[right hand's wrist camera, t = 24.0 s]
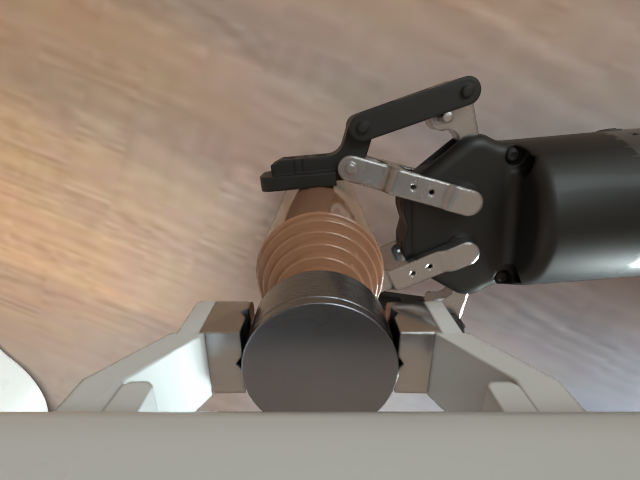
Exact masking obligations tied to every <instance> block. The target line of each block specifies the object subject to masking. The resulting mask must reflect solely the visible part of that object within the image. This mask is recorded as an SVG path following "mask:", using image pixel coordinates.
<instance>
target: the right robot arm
mask: <svg viewBox="0 0 640 480" xmlns="http://www.w3.org/2000/svg"><path fill="white" fill-rule="evenodd" d="M254 316H255V313H254V305H253V302H231V301H218V302H217V301H200V302H197V304H196V305H195V307H194V308H193V310H192V311H191V313H190V314H189V316H188V317H187V319H186V320H185V322H184V323H183V325H182V326H181V328H180V330H179V331H178V333H171V334H169V335H167V336H165V337H163V338H161V339H159V340H157V341H156V342H154V343H152V344H150V345H148V346H146V347H144V348H142V349H140V350H138V351H136V352H135V353H133V354H131V355H129V356H127V357H125V358H123V359H121V360H119V361H117V362H115V363H114V364H112V365H110V366H108V367H106V368H104V369H102V370H100V371H98V372H96V373H94V374H93V375H91V376H89V377H87V378H85V379H83V380H82V381H81V382H80V383H79V384H78V385H77V386H76V387H75V389H74V390H73V391H72V392H71V393H70V394H69V395H68V396H67V397H66V399H65V400H64V401H63V402H62V403H61V404H60V405H59V406H58V408H57V409H56V410H55V411H54V412H48V408H47V404H46V401H45V399H44V396H43V394H42V392H41V391H40V389H39V387H38V386H37V384H36V383H35V382H34V380H33V379H32V378H31V377H30V376H29V374H28V373H27V372H26V371H25V370H24V369H23V368H22V367H20V366H19V365H18V364H17V363H16V362H15V361H13V360H12V359H11V358H10V357H8V356H7V355H6V354H5V353H4V352H3V351H2V350H1V349H0V480H640V412H586V411H585V410H584V409H583V408H582V407H581V405H580V404H579V403H578V402H577V401H576V400H575V399H574V397H573V396H572V395H571V394H570V393H569V392H568V391H567V390H566V388H565V387H564V386H563V385H562V384H561V383H560V382H559V381H558V380H557V379H555V378H553V377H551V376H549V375H547V374H545V373H543V372H541V371H539V370H538V369H536V368H534V367H532V366H530V365H528V364H526V363H524V362H522V361H520V360H519V359H517V358H515V357H513V356H511V355H509V354H507V353H505V352H503V351H501V350H500V349H498V348H496V347H494V346H492V345H490V344H488V343H486V342H484V341H482V340H480V339H479V338H477V337H475V336H473V335H471V334H469V333H462V331H461V330H460V328H459V327H458V325H457V324H456V322H455V321H454V319H453V318H452V316H451V315H450V313H449V312H448V310H447V309H446V307H445V306H444V304H443V303H442V302H441V301H415V302H388V303H387V305H386V312H385V317H386V320H387V323H388V326H389V329H390V333H391V336H392V339H393V342H394V345H395V348H396V352H397V355H398V362H399V371H398V378H397V382H396V385H395V387H394V391H395V392H396V393H428V396H429V397H430V398H431V399H432V400H433V401H435V402H436V403H437V404H438V405H439V406H440V407H441V408H442V409H443V410H444V411H445V412H195V411H196V410H197V409H198V408H199V407H200V406H201V405H202V404H203V403H205V402H206V401H207V400H208V399H209V398H210V397H211V396H212V393H243V392H245V391H246V388H245V385H244V381H243V378H242V371H241V361H242V355H243V351H244V348H245V345H246V342H247V339H248V336H249V333H250V330H251V327H252V323H253V320H254Z"/></svg>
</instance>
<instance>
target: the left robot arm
mask: <svg viewBox="0 0 640 480" xmlns="http://www.w3.org/2000/svg"><path fill="white" fill-rule="evenodd" d="M480 93H481V85H480V82H479V81H478V79H476V78H475V77H472V76H466V77H462V78H458V79H454V80H451V81H447V82H444V83H441V84H438V85H435V86H433V87H430V88H427V89H424V90H421V91H419V92H416V93H413V94H410V95H407V96H405V97H402V98H399V99H396V100H393V101H390V102H388V103H385V104H382V105H379V106H376V107H374V108H371V109H368V110H365V111H362V112H360V113H357V114H354V115H352V116H351V117H350V118H349V119H348V120H347V123H346V129H345V133H344V136H343V140H342V143H341V145H340V147H339V148H338V149H337V150H336V151H334V152H332V153H326V154H315V155H304V156H292V157H283V158H281V159H279V160H277V161H275V162H274V163H273V164H272V165H271V171H269V172H265V173H263V174H262V175H261V177H260V180H261V187H262V191H263V192H273V191H284V190H296V189H308V188H316V187H331V186H337V181H340V180H346V181H349V182H353V183H356V184H360V185H364V186H367V187H371V188H375V189H378V190H381V191H383V192H385V193H388V194H391V195H394V196H396V206H397V210H398V213H399V222H398V225H397V229H396V241H393V242H391V243H389V244H386V245H384V246H382V247H380V251H381V254H382V258H383V262H384V278H383V283H382V288H381V292H380V294H379V297H378V300H379V302H380V304H381V306H382V308H383V311H384V314H385V312H386V305H387V303H388V302H415V301H441V302H442V303H443V304H444V306H445V307H446V309H447V310H448V312H449V313H450V315H451V316H452V318H453V319H454V321H455V322H456V324H457V325H458V327H459V328H460V330H461V331H462V333H465V331H466V328H465V325H464V324H463V322H462V321H461V314H462V311H463V308H464V305H465V302H466V299H467V296H468V294H471V293H475V292H477V291H479V290H481V289H482V288H484V287H487V286H489V285H492V284H513V285H531V284H544V283H557V282H570V281H583V280H596V279H609V278H621V277H634V276H640V128H639V129H627V130H623V129H616V128H612V129H604V130H599V131H596V132H592V133H581V134H570V135H559V136H548V137H536V138H525V139H514V140H503V141H496V140H494V139H491V138H490V137H488V136H486V135H483V134H479V133H478V128H477V122H476V117H475V111H474V105H473V103H474V102H475V101H476V100H477V99H478V98H479V96H480ZM422 121H425V123H426V125H427V126H428V127H429V128H430V129H433V130H440V131H442V130H448V131H449V132H450V133H451V134H452V137H453V138H452V139H451V140H450V141H449V142H447V143H446V144H445V145H444V146H442V147H441V148H440V149H439V150H437V151H436V152H435V153H434V154H433V155H431V156H430V157H429V158H428V159H426V160H425V161H424V162H423V163H421V164H420V165H419V166H418V167H416V168H412V167H408V166H404V165H401V164H397V163H394V162H390V161H386V160H381V159H377V158H373V157H370V156H366V155H367V152H368V149H369V145H370V142H371V139H373V138H376V137H379V136H382V135H385V134H387V133H390V132H393V131H396V130H399V129H402V128H405V127H408V126H411V125H413V124H416V123H419V122H422ZM429 278H432V279H434V280H436V281H437V282H439V283H441V284H442V285H444V286H446V287H445V288H444V289H443V290H441V291H437V292H431V291H428V292H426V294H425V296H424V297H422V296H414V295H407V294H400V293H393V292H386V290H389V289H394V290H401V289H404V288H406V287H409V286H411V285H414V284H416V283H419V282H421V281H424V280H426V279H429Z"/></svg>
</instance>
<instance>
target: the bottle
mask: <svg viewBox="0 0 640 480" xmlns="http://www.w3.org/2000/svg"><path fill="white" fill-rule="evenodd" d="M312 270H326V271H334V272H339V273H342V274H345V275H348V276H350V277H352V278H354V279H356V280H358V281H359V282H361V283H363V284H364V285H365V286H366V287H367V288H369V289H370V290H371V291H372V293H373V294H374V295H375V296H376V297H377V299H378V297H379V294H380V292H381V288H382V283H383V278H384V262H383V258H382V254H381V251H380V248H379V246H378V244H377V242H376V239H375V237H374V235H373V232H372V230H371V228H370V226H369V223H368V221H367V219H366V217H365V214H364V212H363V210H362V208H361V205H360V203H359V201H358V199H357V196H356V194H355V192H354V189H353V187H352V185H351V183H350V182H349V181H346V180H340V181H337V186H331V187H316V188H308V189H296V190H287V191H286V193H285V196H284V198H283V200H282V202H281V205H280V207H279V209H278V211H277V214H276V216H275V218H274V220H273V222H272V225H271V227H270V229H269V231H268V234H267V236H266V238H265V240H264V243H263V245H262V247H261V250H260V252H259V255H258V260H257V268H256V272H257V280H258V286H259V290H260V293H261V296H262V298H264V296H265V295H266V294H267V293H268V291H269V290H270V289H271V288H272V287H274V286H275V285H276V284H278V283H279V282H281V281H282V280H284V279H286V278H288V277H290V276H292V275H295V274H298V273H302V272H306V271H312Z"/></svg>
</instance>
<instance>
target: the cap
mask: <svg viewBox="0 0 640 480" xmlns="http://www.w3.org/2000/svg"><path fill="white" fill-rule="evenodd" d="M241 371H242V378H243V381H244V385H245V388H246V390H247V392H248V394H249V396H250V397H251V398H252V400H253V401H254V403H255V404H256V405H257V406H258V407H259V408H260V409H261V410H262V411H263V412H377V411H378V410H379V409H380V408H381V407H382V406H383V405H384V404H385V403H386V401H387V400H388V399H389V397H390V396H391V394H392V392H393V390H394V387H395V385H396V382H397V378H398V371H399V362H398V355H397V352H396V348H395V345H394V342H393V339H392V336H391V333H390V329H389V326H388V323H387V320H386V317H385V314H384V311H383V308H382V306H381V304H380V302H379V300H378V299H377V297H376V296H375V295H374V294H373V293H372V291H371V290H370V289H369V288H367V287H366V286H365V285H364V284H363V283H361V282H359V281H358V280H356V279H354V278H352V277H350V276H348V275H345V274H342V273H339V272H334V271H326V270H312V271H306V272H302V273H298V274H295V275H292V276H290V277H288V278H286V279H284V280H282V281H281V282H279V283H278V284H276V285H275V286H274V287H272V288H271V289H270V290H269V291H268V293H267V294H266V295H265V296H264V298H263V299H262V300H261V302H260V304H259V306H258V309H257V311H256V314H255V317H254V320H253V323H252V327H251V330H250V333H249V336H248V339H247V342H246V345H245V348H244V351H243V355H242V361H241Z"/></svg>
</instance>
